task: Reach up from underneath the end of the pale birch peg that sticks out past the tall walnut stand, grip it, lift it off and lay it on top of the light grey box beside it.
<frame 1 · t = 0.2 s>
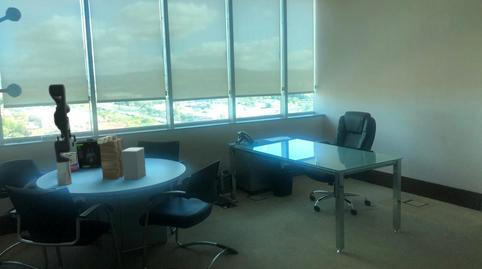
hand: (67, 147, 321), 22 cm above the table, tool pointing down, fingers open, 8 cm apart
light grey box: (135, 177, 303), on the table
candy bar box: (70, 171, 330), on the table
headset box: (92, 166, 346), on the table
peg: (107, 141, 296), point 30 cm above the table, touching tall stand
tall stand: (114, 176, 306), on the table
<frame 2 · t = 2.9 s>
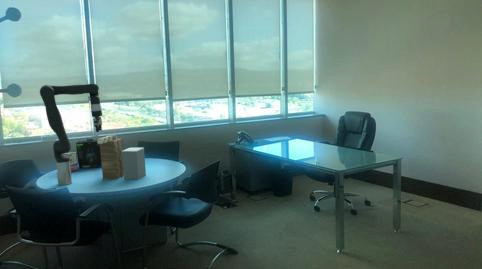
hand: (99, 131, 291), 39 cm above the table, tool pointing down, fingers open, 8 cm apart
nothing on the table moved.
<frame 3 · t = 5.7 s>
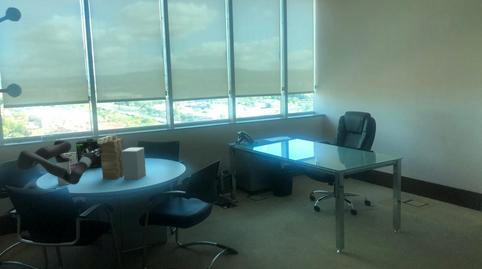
hand: (95, 146, 280), 29 cm above the table, tool pointing upward, fingers open, 8 cm apart
nothing on the table moved.
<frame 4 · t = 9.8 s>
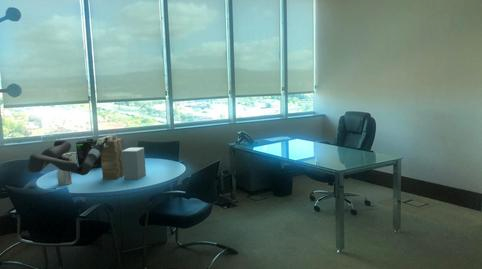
hand: (104, 138, 292), 33 cm above the table, tool pointing upward, fingers closed on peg, 3 cm apart
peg: (107, 141, 296), point 30 cm above the table, touching gripper, tall stand
everything else where it was.
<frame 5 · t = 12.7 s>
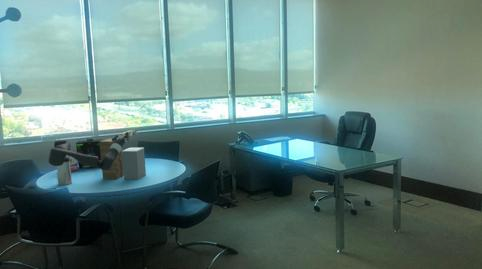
hand: (125, 132, 288), 37 cm above the table, tool pointing upward, fingers closed on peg, 3 cm apart
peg: (127, 136, 292), point 34 cm above the table, touching gripper
everything else where it was.
when the fingers open (27 cm above the table, at t = 15.6 s): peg drops 2 cm, resting on light grey box.
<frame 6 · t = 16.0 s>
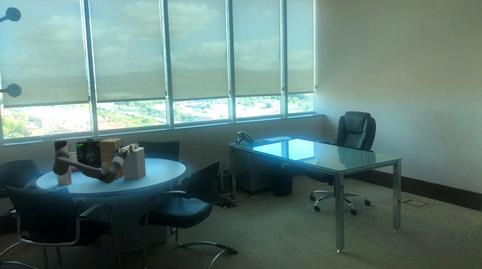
hand: (126, 145, 289), 27 cm above the table, tool pointing upward, fingers open, 7 cm apart
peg: (129, 150, 294), point 23 cm above the table, touching light grey box
everything else where it was.
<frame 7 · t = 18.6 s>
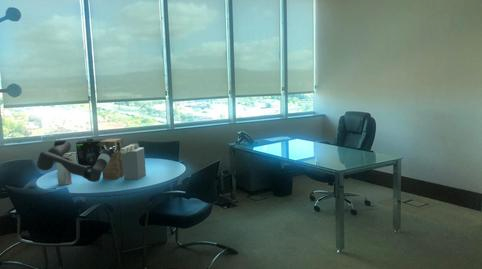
hand: (113, 142, 278), 32 cm above the table, tool pointing upward, fingers open, 8 cm apart
nothing on the table moved.
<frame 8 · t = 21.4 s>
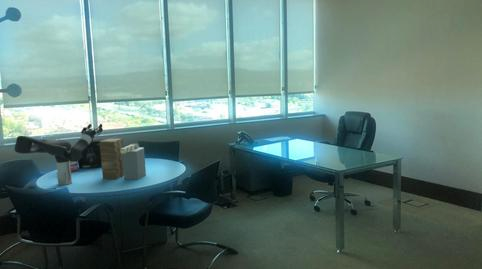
hand: (96, 124, 279), 45 cm above the table, tool pointing upward, fingers open, 8 cm apart
nothing on the table moved.
at the end: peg inside the target area on the light grey box (3.7 cm from its centre), point 22.6 cm above the light grey box's base; the gripper is holding nothing; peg tilted 0° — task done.
